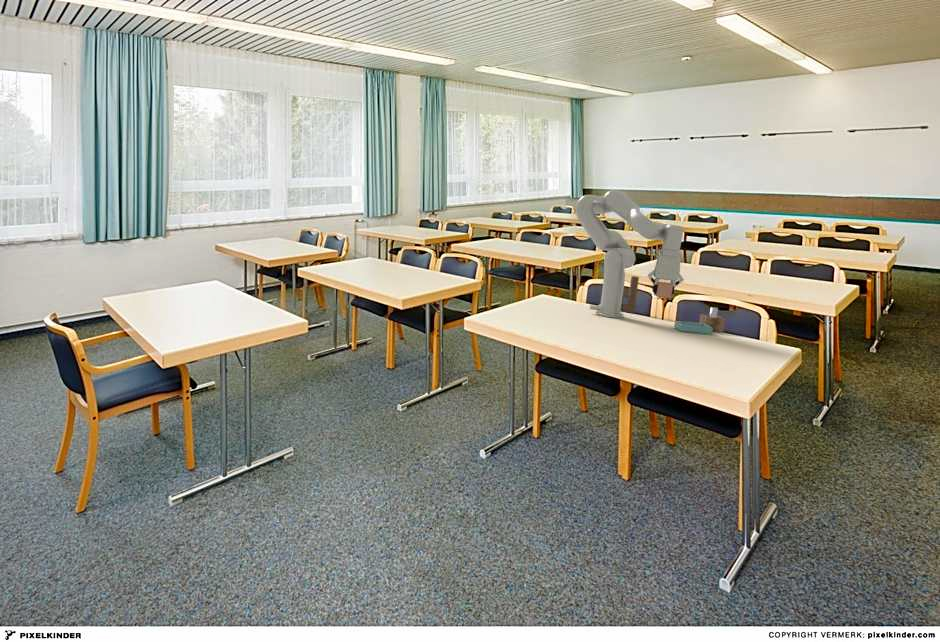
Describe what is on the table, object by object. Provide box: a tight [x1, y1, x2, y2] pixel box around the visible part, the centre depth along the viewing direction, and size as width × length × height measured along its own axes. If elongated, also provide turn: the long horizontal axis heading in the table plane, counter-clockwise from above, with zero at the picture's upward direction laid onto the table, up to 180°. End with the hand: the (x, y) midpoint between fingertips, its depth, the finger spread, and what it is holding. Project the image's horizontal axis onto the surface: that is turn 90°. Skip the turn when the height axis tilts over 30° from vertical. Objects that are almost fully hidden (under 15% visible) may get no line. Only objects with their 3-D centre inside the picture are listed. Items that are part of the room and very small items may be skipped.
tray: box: [673, 320, 713, 335], centre depth 249 cm, size 13×10×3 cm
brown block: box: [698, 314, 726, 334], centre depth 256 cm, size 8×8×6 cm
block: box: [653, 280, 673, 299], centre depth 256 cm, size 6×6×6 cm
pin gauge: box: [708, 306, 719, 318], centre depth 256 cm, size 3×3×10 cm
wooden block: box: [621, 275, 640, 314], centre depth 291 cm, size 4×11×18 cm, turn 52°
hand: (662, 294), depth 256 cm, fingers closed on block, 6 cm apart
